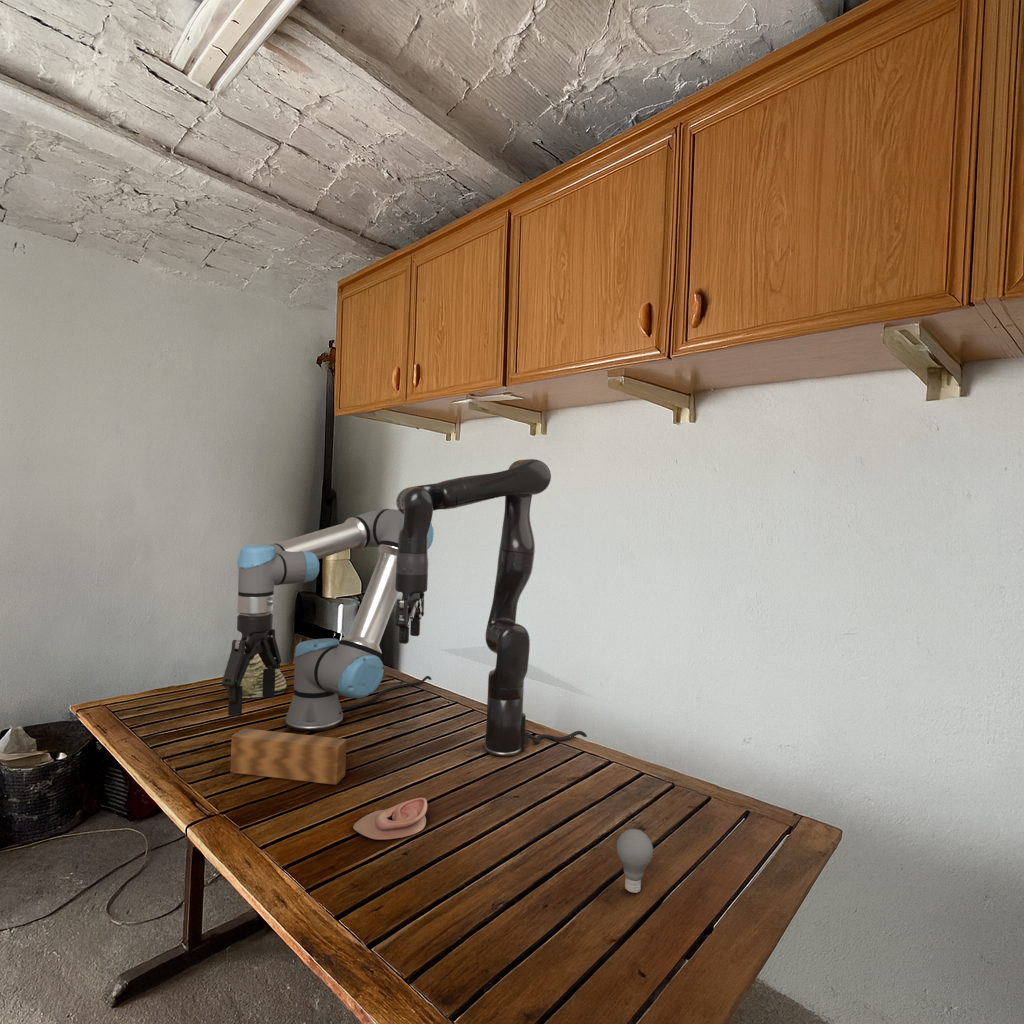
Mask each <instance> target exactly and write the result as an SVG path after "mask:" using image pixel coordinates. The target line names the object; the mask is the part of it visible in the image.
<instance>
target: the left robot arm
mask: <svg viewBox="0 0 1024 1024" xmlns="http://www.w3.org/2000/svg"><path fill="white" fill-rule="evenodd" d="M403 523H404V514H402V513H401V512H400V511H399V510H398V509H392V508H380V509H375V510H371V511H368V512H364V513H361V514H358V515H355V516H352V517H348V518H347V519H346V520H345V521H344V522H342V523H340V524H337V525H332V526H329V527H326V528H323V529H319V530H316V531H313V532H309V533H306V534H303V535H299V536H296V537H293V538H288V539H286V540H285V539H284V540H282V541H279V542H275V543H272V544H268V545H266V544H264V545H263V544H250V545H244V546H242V547H241V548H240V550H239V554H238V557H237V563H236V564H237V568H238V578H237V579H238V580H237V581H238V583H237V591H238V592H237V604H236V605H237V607H236V612H237V613H238V615H237V616H236V630H237V632H239V633H241V638H240V639H232V642H231V651H230V654H229V657H228V660H227V662H228V664H227V663H226V665H227V666H225V668H226V671H225V670H224V672H225V674H224V673H223V675H224V676H223V677H222V681H221V686H222V687H224V686H227V687H228V688H229V691H228V698H227V699H228V712H227V713H228V714H227V716H228V717H237V718H238V717H239V718H240V717H242V715H243V698H242V688H243V686H240V684H241V682H242V679H243V677H244V675H245V672H246V670H247V667H248V665H249V663H250V660H251V659H253V658H254V656H255V655H257V654H259V656H260V658H261V660H262V662H263V663H264V665H265V667H266V668H267V669H263V694H262V697H261V698H275V696H276V695H275V669H279V670H280V668H281V664H282V658H281V657H282V656H281V654H280V650H279V647H278V642H277V639H276V629H274V628H273V626H274V625H273V623H274V621H273V620H274V619H273V618H274V615H273V613H272V612H273V610H274V604H275V600H274V593H275V592H274V590H275V586H281V585H282V586H283V585H291V584H304V583H308V582H312V581H314V580H315V579H316V578H317V577H318V576H319V573H320V561H319V560H321V559H324V558H326V557H330V556H333V555H335V554H339V553H341V552H344V551H348V550H350V549H354V550H362V549H365V548H377V549H378V552H379V558H378V560H377V562H376V565H375V568H374V569H373V573H372V575H371V577H370V580H369V583H368V585H367V587H366V589H365V593H364V595H363V598H362V600H361V603H360V605H359V608H358V610H357V613H356V615H355V618H354V621H353V622H352V625H351V628H350V630H349V632H348V635H346V636H344V637H341V638H340V640H339V639H338V638H331V637H329V638H317V639H316V638H315V639H308V640H304V641H301V642H299V643H298V644H297V645H296V646H295V652H294V656H293V658H294V670H293V671H294V672H293V695H292V696H293V697H292V699H291V701H290V704H289V708H288V711H287V713H286V715H285V726H286V728H287V729H289V730H291V731H294V732H295V731H296V732H301V733H316V732H325V731H329V730H332V729H335V728H337V727H339V726H340V725H342V723H343V722H344V714H343V710H351V709H355V708H360V707H362V706H365V705H368V704H371V703H372V702H374V701H376V700H377V699H378V698H379V697H380V696H381V695H383V694H384V693H388V692H390V691H393V690H397V689H400V688H405V687H411V686H417V685H421V684H423V683H424V682H426V680H429V681H432V677H431V676H430V675H426V676H424V678H422V679H421V680H418V681H415V682H409V683H402V684H398V685H394V686H391V687H388V688H385V689H383V690H381V691H379V692H377V694H375V695H374V696H373V697H372V698H370V699H367V700H365V701H363V702H359V703H355V704H351V705H341V702H340V699H339V695H340V696H342V697H346V698H348V699H357V700H358V699H365V698H367V697H368V696H369V695H372V694H373V693H374V692H375V691H376V690H377V688H378V687H379V686H380V684H381V682H382V680H383V677H384V673H385V669H384V663H383V661H382V660H381V656H382V654H383V652H382V649H381V647H380V643H381V640H382V638H383V635H384V633H385V630H386V627H387V625H388V622H389V619H390V617H391V615H392V612H393V609H394V606H395V603H396V602H397V599H398V596H399V593H400V592H398V591H396V589H395V584H396V561H397V555H398V536H399V531H400V530H401V529H402V528H403ZM434 534H435V533H434V527H433V523H432V522H431V525H430V529H429V532H428V550H429V549H430V547H432V544H433V541H434ZM238 650H239V651H238ZM244 652H245V653H244ZM236 680H237V681H236Z"/></svg>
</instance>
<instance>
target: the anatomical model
mask: <svg viewBox="0 0 1024 1024" xmlns="http://www.w3.org/2000/svg"><path fill="white" fill-rule="evenodd" d="M427 811H428V801H427V799H426V798H425V797H415V798H412V799H409V800H406V801H403V802H400V803H398V804H396V805H393V806H391V807H389V808H385V809H380V810H375V811H373V812H370V813H368V814H366V815H364V816H363V817H361V818H360V819H358V820H357V821H356V822H354V824H353V826H352V829H353V830H354V831H355V832H356V833H358V834H360V835H362V836H364V837H366V838H368V839H371V840H378V841H381V840H383V841H384V840H393V839H402V838H406V837H410V836H413V835H415V834H417V833H419V832H421V831H423V830H424V828H425V827H426V826H427V825H426V824H427V817H426V813H427Z"/></svg>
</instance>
